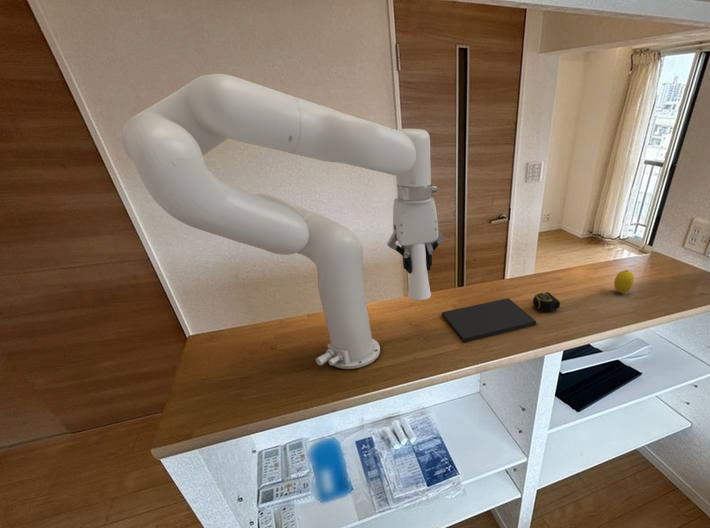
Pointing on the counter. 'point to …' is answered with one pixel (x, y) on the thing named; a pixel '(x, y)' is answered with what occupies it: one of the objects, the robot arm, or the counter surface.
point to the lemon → (624, 281)
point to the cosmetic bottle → (418, 274)
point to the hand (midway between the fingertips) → (417, 269)
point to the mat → (487, 319)
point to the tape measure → (545, 302)
